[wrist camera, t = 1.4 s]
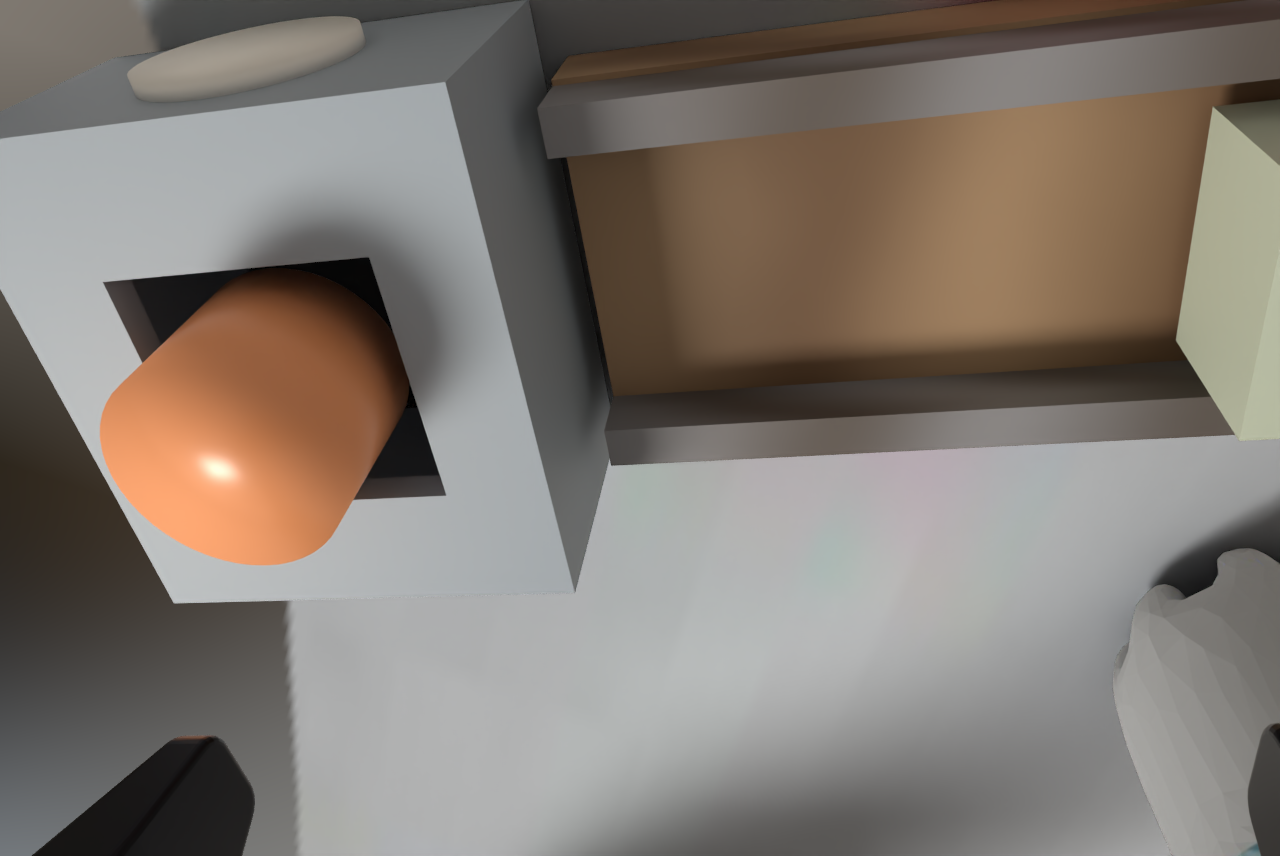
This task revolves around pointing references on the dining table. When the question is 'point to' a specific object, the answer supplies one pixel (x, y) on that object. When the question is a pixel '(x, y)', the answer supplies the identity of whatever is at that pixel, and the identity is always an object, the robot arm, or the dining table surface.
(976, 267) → the rail
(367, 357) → the rounded orange peg
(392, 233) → the grey block with hole
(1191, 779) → the bottle
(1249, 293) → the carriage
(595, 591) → the dining table surface
